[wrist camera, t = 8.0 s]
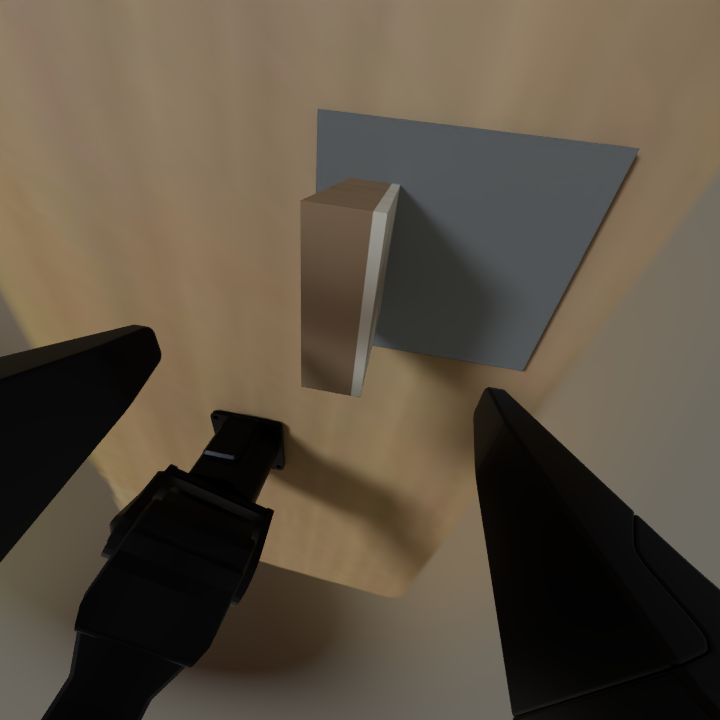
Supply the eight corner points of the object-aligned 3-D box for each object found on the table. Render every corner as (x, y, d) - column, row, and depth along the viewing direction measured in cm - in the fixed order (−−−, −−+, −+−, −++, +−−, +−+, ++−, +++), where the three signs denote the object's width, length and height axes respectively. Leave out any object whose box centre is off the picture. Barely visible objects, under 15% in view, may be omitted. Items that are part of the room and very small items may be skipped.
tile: (379, 312, 19) (360, 397, 13) (340, 305, 19) (301, 386, 13) (400, 184, 15) (387, 213, 9) (350, 177, 15) (300, 200, 9)
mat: (520, 366, 20) (522, 371, 20) (315, 331, 21) (313, 335, 21) (632, 148, 13) (639, 148, 13) (320, 110, 14) (317, 108, 14)
